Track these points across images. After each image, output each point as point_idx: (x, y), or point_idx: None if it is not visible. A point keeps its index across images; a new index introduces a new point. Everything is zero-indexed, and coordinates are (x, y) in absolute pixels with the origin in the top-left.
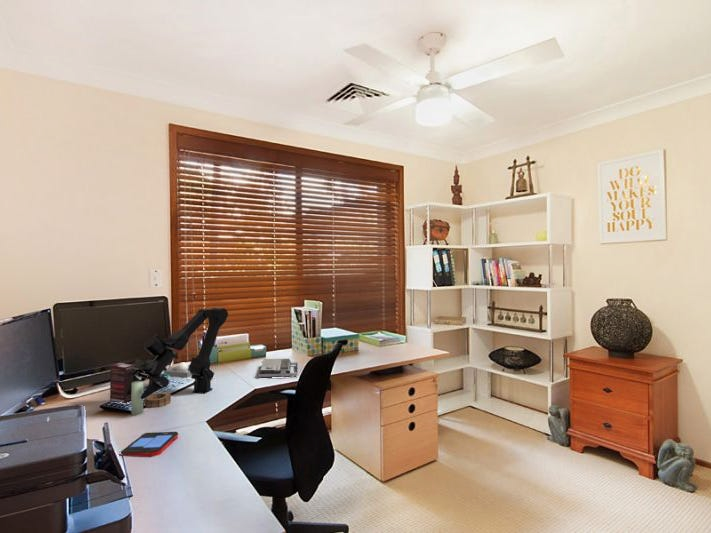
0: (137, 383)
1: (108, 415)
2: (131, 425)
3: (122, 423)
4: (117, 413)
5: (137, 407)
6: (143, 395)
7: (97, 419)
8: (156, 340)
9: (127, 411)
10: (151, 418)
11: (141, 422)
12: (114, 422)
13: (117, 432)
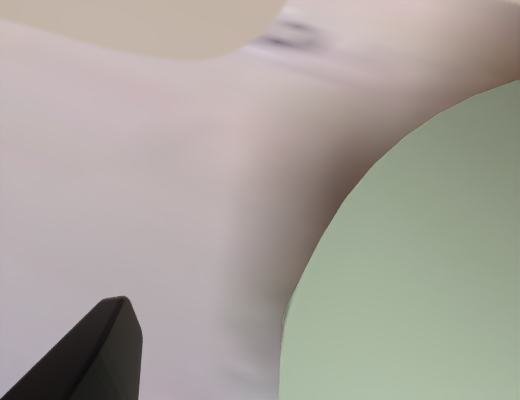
0: (392, 305)
1: None
2: (54, 152)
3: (167, 118)
4: None
5: (285, 309)
6: (62, 353)
7: (441, 13)
8: None
9: None
10: None
11: (41, 243)
12: (249, 82)
13: (14, 28)
